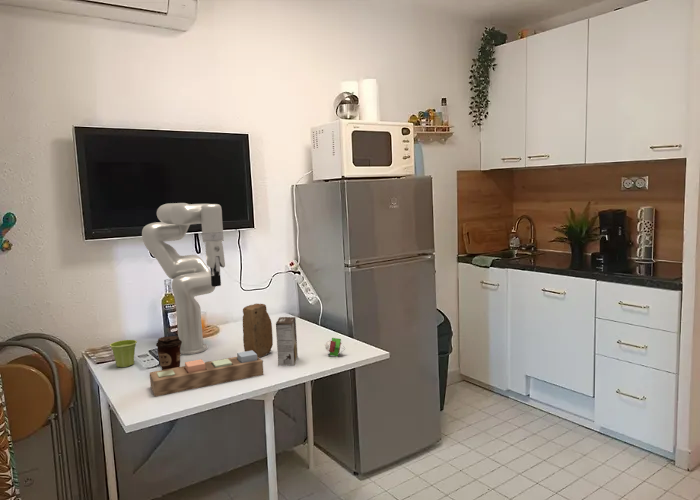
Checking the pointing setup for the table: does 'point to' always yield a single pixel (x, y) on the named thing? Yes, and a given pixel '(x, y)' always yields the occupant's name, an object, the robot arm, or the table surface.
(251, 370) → the button panel
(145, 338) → the table surface
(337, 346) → the geometric puzzle
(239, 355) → the slate button
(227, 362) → the sage button
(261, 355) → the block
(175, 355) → the coffee cup
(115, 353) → the plant pot
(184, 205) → the robot arm
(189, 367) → the terracotta button
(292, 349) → the coffee box
